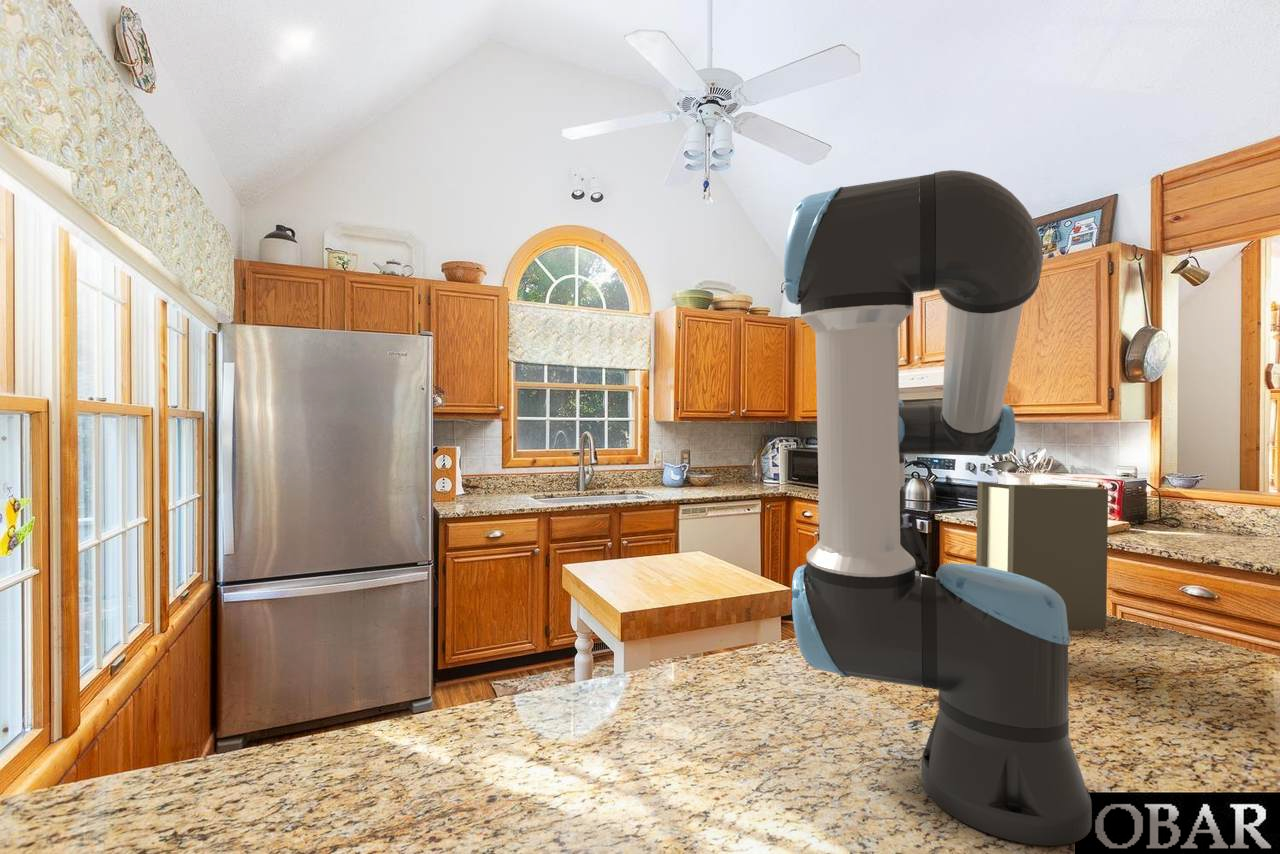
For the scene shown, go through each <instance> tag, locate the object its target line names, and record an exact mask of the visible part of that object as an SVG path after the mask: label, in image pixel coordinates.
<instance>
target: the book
mask: <svg viewBox="0 0 1280 854" xmlns="http://www.w3.org/2000/svg"><path fill="white" fill-rule="evenodd" d="M976 498H977V499H976V500H977V502H976V505H977V507H976V512H977V513H976V558H975V559H976V562H975V565H977V566H983V567H989V568H994V569H998V570H1003V571H1007V572H1011V573H1014V574H1018V575H1021V576H1024V577H1027V578H1030V579H1033V580H1036V581H1038V582H1040V583H1043V584H1045V585H1047V586H1048V587H1050V588H1052V589H1053V590H1054V591H1056V592H1057V593H1058V594H1059V595H1060V596H1061V598H1062V599H1063V601H1064V603H1065V606H1066V612H1067V622H1068V631H1069V630H1070V631H1071V630H1074V631H1075V630H1107V605H1108V604H1107V596H1108V595H1107V594H1108V593H1107V592H1108V591H1107V590H1108V589H1107V588H1108V534H1109V533H1108V531H1109V530H1108V527H1109V524H1108V522H1109V519H1108V518H1109V517H1108V516H1109V506H1108V505H1109V488H1101V487H1100V488H1099V487H1093V486H1083V485H1082V486H1081V485H1080V486H1079V485H1072V484H1003V483H994V482H986V481H980V480H979V481H977V496H976Z"/></svg>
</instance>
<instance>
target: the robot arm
mask: <svg viewBox="0 0 1280 854" xmlns="http://www.w3.org/2000/svg"><path fill="white" fill-rule="evenodd" d="M787 228H788V229H787V233H786V239H785V247H784V260H783V261H784V262H783V276H784V291H785V292H784V293H785V296H786V298H787V301H788V302H789V303H791V304H794V305H796V306H798V305H800V319H801V320H802V321H803V322H804V323H805V324H806V325H808V326H809V328H811V329H812V330H813V331H814V335H815V369H816V370H815V371H816V373H815V377H816V379H815V380H816V428H817V429H816V430H817V432H816V433H817V466H818V467H817V472H818V474H817V477H818V479H817V480H818V521H819V522H818V525H819V527H818V528H819V529H818V530H819V534H818V535H819V540H818V542H817V543H816V544H815V545H814V546H813V547H812V548H811V549H809V551H808V552H806V558H805V559H806V561H805V562H806V564H803V565H801V566H798V567H797V568H796V569H795V570H794V572H793V576H792V580H791V581H792V582H791V594H792V600H791V610H792V611H791V613H792V621H793V630H794V633H795V638H796V641H797V643H796V644H797V645H798V650H799V651H800V654H801V655H802V658H803V659H804V660H805V662H806V663H807V664H808V665H809V666H810V667H812V668H813V669H815V670H819V671H823V672H828V673H832V674H838V675H839V676H840V677H843V678H850V677H851V678H852V677H853V678H859V679H865V680H873V681H879V682H886V683H892V684H899V685H904V686H905V685H907V686H910V687H911V686H913V687H919V688H926V689H932V690H937V691H938V712H937V714H936V717H935V720H934V722H933V725H932V727H931V731H930V732H929V736H928V739H927V741H926V744H925V748H924V750H923V751H922V756H921V761H920V762H921V763H920V765H921V767H920V769H921V771H920V772H921V773H920V774H921V775H920V776H921V784H922V786H923V788H924V791H925V792H926V794H927V795H928V796H929V797H930V799H931V800H932V801H933V802H934V803H935V804H936V805H937V806H938V807H940V809H942V810H943V811H945V812H946V813H948V814H949V815H950V816H952V817H953V818H955V819H956V820H959V821H960V822H962V823H964V824H966V825H968V826H970V827H971V828H975V829H976V830H979V831H982V832H984V833H987V834H989V835H991V836H995V837H997V838H1001V839H1004V840H1009V841H1012V842H1016V843H1017V842H1018V843H1022V844H1029V845H1034V846H1046V847H1047V846H1050V847H1051V846H1064V845H1070V844H1073V843H1076V842H1079V841H1081V840H1083V839H1084V838H1086V837H1087V836H1088V835H1089V834H1090V832H1091V829H1092V826H1093V825H1092V824H1093V823H1092V822H1093V819H1092V817H1093V816H1092V814H1093V811H1092V809H1093V808H1092V807H1093V806H1092V799H1091V796H1090V792H1089V790H1088V789H1087V786H1086V783H1085V780H1084V777H1083V774H1082V771H1081V767H1080V764H1079V762H1078V759H1077V757H1076V754H1075V751H1074V748H1073V746H1072V743H1071V740H1070V739H1071V738H1070V729H1069V726H1070V725H1069V721H1070V720H1069V717H1070V716H1069V712H1070V711H1069V709H1070V708H1069V703H1070V702H1069V645H1070V644H1071V636H1070V634H1069V630H1068V622H1067V612H1066V606H1065V603H1064V601H1063V599H1062V598H1061V596H1060V595H1059V594H1058V593H1057V592H1056V591H1054V590H1053V589H1052V588H1050V587H1048V586H1047V585H1045V584H1043V583H1040V582H1038V581H1036V580H1033V579H1030V578H1027V577H1024V576H1021V575H1018V574H1014V573H1011V572H1007V571H1003V570H998V569H994V568H989V567H983V566H977V565H976V564H969V563H952V562H951V563H943V564H940V565H939V566H938V568H937V570H936V572H935V577H934V576H930V577H922V576H921V574H922V572H926V571H927V568H928V567H930V566H931V560H930V557H929V554H928V552H927V549H926V547H925V544H924V541H923V539H922V536H921V533H920V531H919V529H918V522H917V521H918V520H917V515H915V514H909V513H902V512H904V511H905V510H906V491H905V489H902V488H903V487H905V485H906V479H905V477H906V473H905V472H906V470H905V469H906V468H905V464H906V463H905V462H906V461H905V455H941V456H942V455H948V456H951V455H952V456H979V457H985V456H998V455H1007V454H1009V453H1010V452H1012V451H1013V449H1014V447H1015V437H1016V416H1015V411H1014V410H1013V407H1011V406H1010V405H1008V404H1004V401H1005V397H1006V392H1007V386H1008V381H1009V378H1010V377H1009V376H1010V370H1011V366H1012V363H1013V362H1012V361H1013V358H1014V357H1013V356H1014V352H1015V347H1016V341H1017V337H1018V331H1019V327H1020V321H1021V317H1022V312H1023V308H1024V305H1025V304H1026V303H1027V302H1028V301H1030V299H1031V298H1032V297H1033V296H1034V295H1035V293H1036V291H1037V289H1038V287H1039V284H1040V278H1041V274H1042V269H1043V260H1044V259H1043V245H1042V241H1041V236H1040V232H1039V230H1038V228H1037V226H1036V224H1035V222H1034V220H1033V217H1032V215H1031V214H1030V213H1029V211H1028V209H1027V208H1026V207H1025V205H1024V204H1023V203H1022V202H1021V201H1020V200H1019V198H1017V197H1016V195H1015V194H1014V193H1012V191H1010V190H1009V189H1008V188H1006V187H1004V185H1002V184H1000V183H999V182H998V181H995V180H994V179H992V178H990V177H988V176H984V175H981V174H979V173H976V172H971V171H967V170H953V169H952V170H941V171H935V172H933V173H930V174H925V175H924V174H923V175H918V176H911V177H904V178H903V177H902V178H896V179H889V180H883V181H878V182H870V183H863V184H857V185H849V186H838V187H836V188H835V189H833V190H829V191H823V192H818V193H813V194H810V195H807V196H806V197H804V198H803V199H801V200H800V201H798V204H797V205H796V206H795V208H794V209H793V212H792V214H791V217H790V221H789V223H788V227H787ZM936 290H938V292H939V295H940V297H941V298H942V299H943V301H944V302H945V303H946V304H947V305H946V306H947V307H946V308H947V309H946V325H945V344H944V345H945V346H944V365H943V381H942V382H943V384H942V385H943V386H942V403H941V405H919V406H918V405H914V406H913V405H909V406H908V405H907V406H906V405H905V404H904V401H903V400H902V399H900V398H899V397H900V396H899V395H900V394H899V393H900V390H899V389H900V387H899V383H900V382H899V380H900V379H899V378H900V377H899V376H900V375H899V374H900V372H899V367H900V366H899V364H900V363H899V328H900V326H901V324H902V323H903V322H904V321H905V320H906V319H907V318H908V316H910V315H911V313H913V312H914V309H915V307H914V294H916V293H920V292H922V293H923V292H933V291H936ZM933 577H934V578H933Z"/></svg>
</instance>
